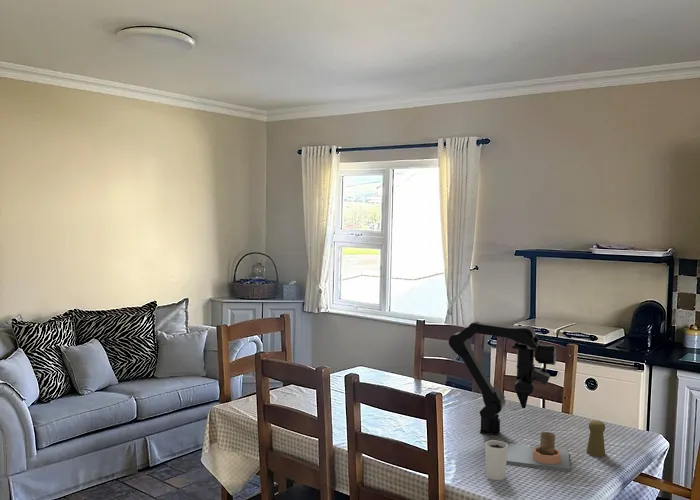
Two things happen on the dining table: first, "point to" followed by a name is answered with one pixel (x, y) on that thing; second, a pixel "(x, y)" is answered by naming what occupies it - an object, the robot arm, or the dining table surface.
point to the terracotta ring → (546, 456)
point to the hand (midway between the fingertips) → (524, 404)
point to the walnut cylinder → (547, 443)
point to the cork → (596, 439)
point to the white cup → (496, 459)
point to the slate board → (525, 458)
